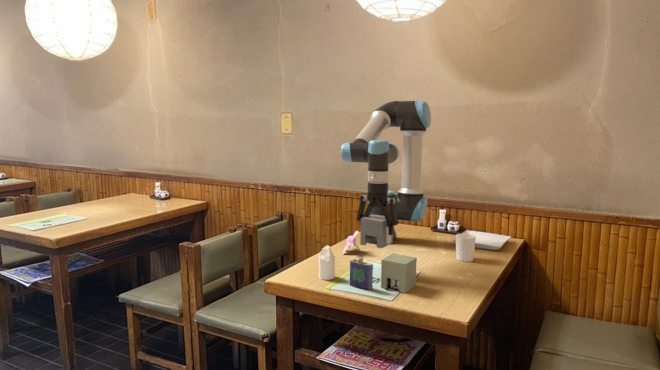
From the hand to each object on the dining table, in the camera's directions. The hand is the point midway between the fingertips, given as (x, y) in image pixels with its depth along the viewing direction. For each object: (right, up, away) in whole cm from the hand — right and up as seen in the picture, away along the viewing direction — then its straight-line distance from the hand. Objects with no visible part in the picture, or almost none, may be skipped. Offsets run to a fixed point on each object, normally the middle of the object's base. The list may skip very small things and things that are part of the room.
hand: (376, 241), depth 187 cm
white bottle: (-19, -13, -5) cm, 23 cm away
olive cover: (+6, -14, -14) cm, 21 cm away
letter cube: (+6, -14, -14) cm, 21 cm away
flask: (-7, -14, -14) cm, 22 cm away
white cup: (+38, -10, +18) cm, 43 cm away
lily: (-8, -8, +28) cm, 30 cm away
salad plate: (+52, -7, +41) cm, 67 cm away
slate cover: (0, -1, 0) cm, 1 cm away
